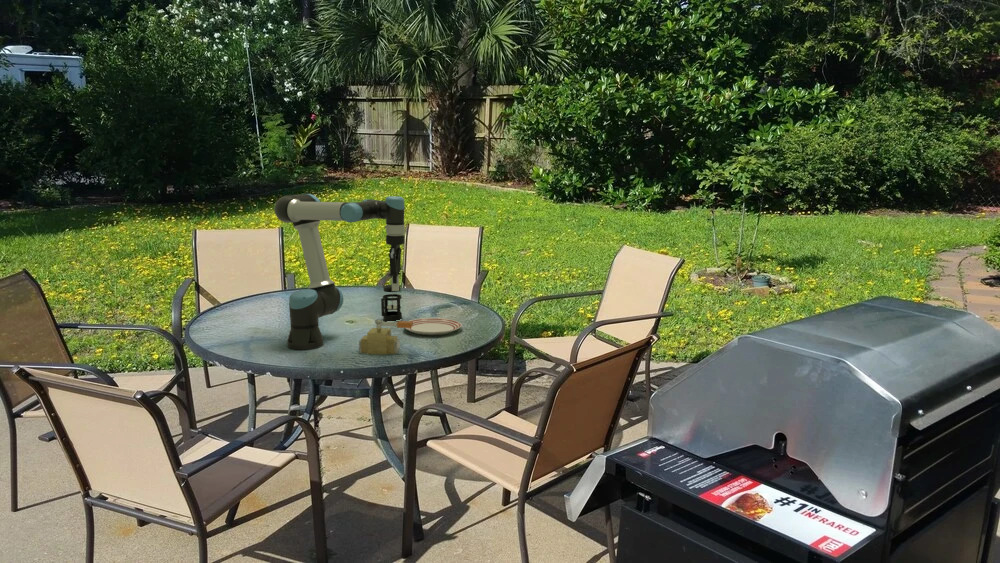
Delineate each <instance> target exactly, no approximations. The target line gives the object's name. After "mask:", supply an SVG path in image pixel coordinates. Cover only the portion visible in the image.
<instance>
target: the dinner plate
mask: <svg viewBox="0 0 1000 563" xmlns="http://www.w3.org/2000/svg"><path fill="white" fill-rule="evenodd" d="M409 321H413V327H412V328H404V329H405V330H407V331H409V332H411V333H413V334H416V333H417V335H421V334H422V336H441V334H443V335H446V333H447V334H450V333H451V332H454V331H457V330H458V329H461V328H462V326H463V324H462V323H461V322H459V320H458V321H457V320H454V319H450V318H442V317H441V318H439V317H425V318H424V317H422V318H415V319H410V320H409ZM449 332H450V333H449Z"/></svg>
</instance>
